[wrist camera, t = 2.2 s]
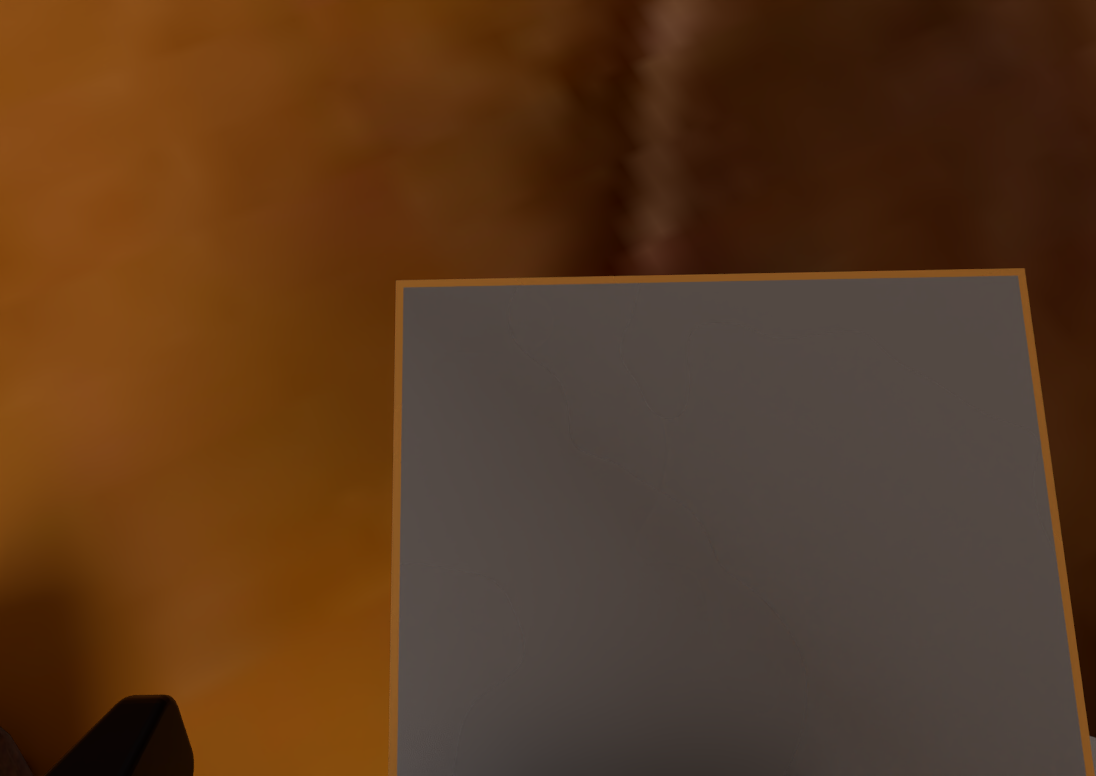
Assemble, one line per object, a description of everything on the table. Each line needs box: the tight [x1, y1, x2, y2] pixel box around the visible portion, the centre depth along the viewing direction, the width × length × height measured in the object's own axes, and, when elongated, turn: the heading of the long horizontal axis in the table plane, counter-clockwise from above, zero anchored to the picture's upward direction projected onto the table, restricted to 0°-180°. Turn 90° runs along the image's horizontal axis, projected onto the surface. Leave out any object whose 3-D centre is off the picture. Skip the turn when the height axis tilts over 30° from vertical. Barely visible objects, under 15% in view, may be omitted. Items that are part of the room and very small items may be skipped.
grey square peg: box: [388, 268, 1095, 776], centre depth 12 cm, size 4×4×12 cm
